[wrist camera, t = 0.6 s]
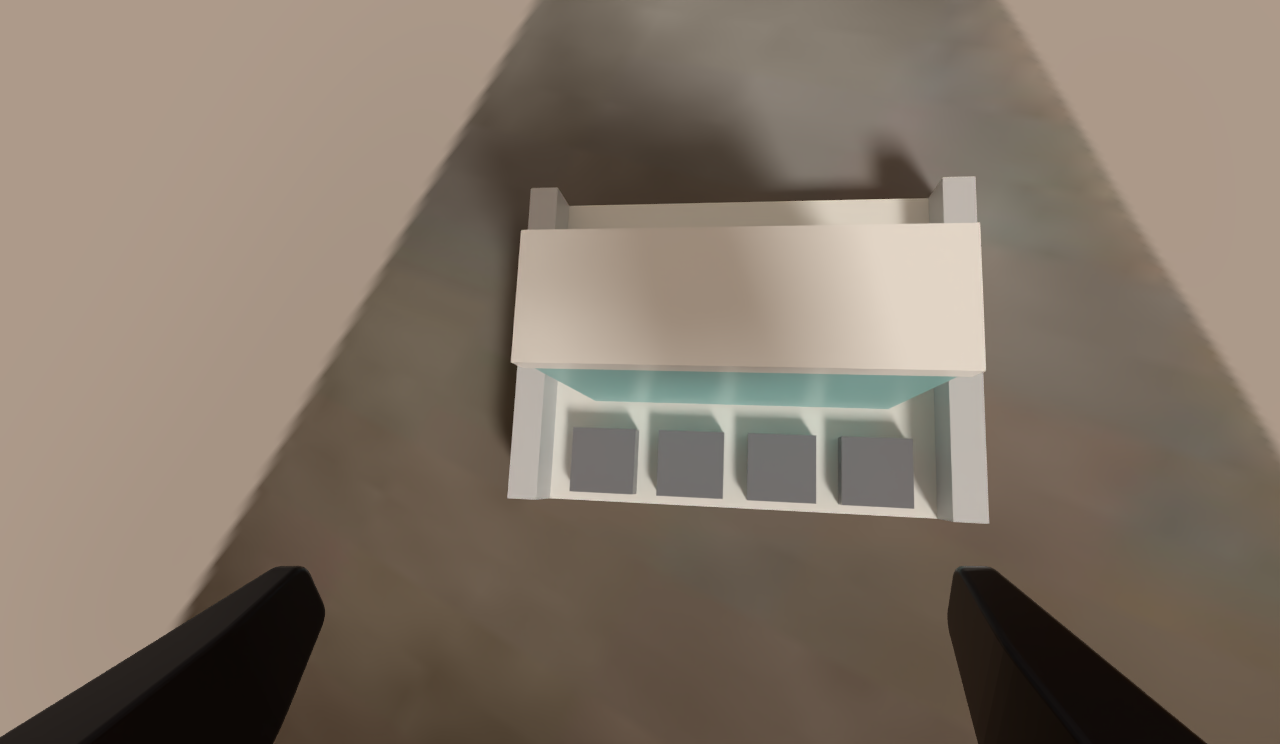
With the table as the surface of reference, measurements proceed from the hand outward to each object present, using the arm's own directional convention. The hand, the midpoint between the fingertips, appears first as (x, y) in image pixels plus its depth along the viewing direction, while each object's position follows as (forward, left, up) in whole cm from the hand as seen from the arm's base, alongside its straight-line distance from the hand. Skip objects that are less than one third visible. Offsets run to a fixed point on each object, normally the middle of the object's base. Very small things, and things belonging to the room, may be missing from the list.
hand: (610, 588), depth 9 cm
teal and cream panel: (+4, -4, -13) cm, 14 cm away
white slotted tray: (+4, -4, -15) cm, 16 cm away
